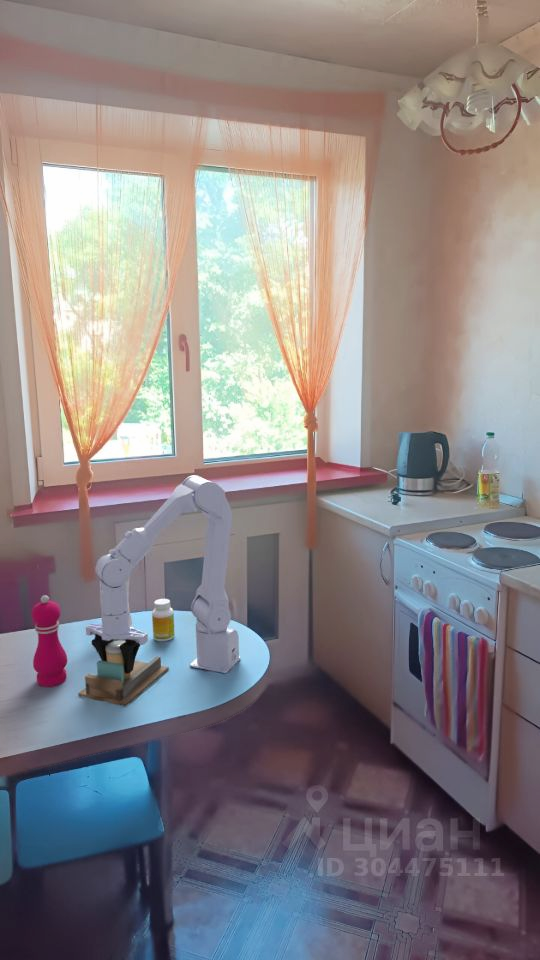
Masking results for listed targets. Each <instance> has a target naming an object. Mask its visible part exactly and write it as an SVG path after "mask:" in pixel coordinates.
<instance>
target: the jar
mask: <svg viewBox="0 0 540 960" xmlns="http://www.w3.org/2000/svg"><path fill="white" fill-rule="evenodd" d="M124 642H125V640H113V642H110V643H108V644H107V645H106V646H105V649H106V657H107V662H111V663H116V664H122V665H123V670H124V660H123V656H122V653H121V650H120V648H119V646H120V645H122V644H123V643H124ZM130 677H131V674H130V673H129V674H126V673H125V670H124V682H126V681H127V680H128V679H129V678H130Z"/></svg>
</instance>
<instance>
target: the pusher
mask: <svg viewBox="0 0 540 960" xmlns="http://www.w3.org/2000/svg"><path fill="white" fill-rule="evenodd" d="M96 669H97V674H98V676H100V677H105V678H110V679H115V680H120V681H123V683H124V670H123V665H122V664H116V663H111V662H106V661H102V660H101V659H100V660H98V661H96Z"/></svg>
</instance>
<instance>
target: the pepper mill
mask: <svg viewBox="0 0 540 960" xmlns="http://www.w3.org/2000/svg"><path fill="white" fill-rule="evenodd" d="M60 617H61V608H60V606H59V604H58V603H56V602H55V601H53V600H50V597H49V596H48V595H46V594H45V595H42V596H40V602H38V603H36V604H35V605H34V606H33V607H32V610H31V618H32V622H34V624H35V625H34V627H35V632H36V634H37V637H38V638H37V639H38V640H37V641H38V642H37V646H36V650H35V653H34V656H33V661H32V665H33V667H32V668H33V670H34V671H35V672H37V674H36V683H37V685H38V686H40V687H43V688H49V687H50V688H51V687H56V686H58V685H61V684H62V683H64V682H65V681H66V680H67V670H66V669H65V668H66V666H67V664H68V656H67V652H66V651H65V649H64V647H63V645H62V643H61V642H60V639H59V636H58V635H59V633H58V630H59V629H60V625H59V624H60V622H59V621H58V620H59V619H60Z"/></svg>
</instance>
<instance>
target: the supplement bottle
mask: <svg viewBox="0 0 540 960" xmlns="http://www.w3.org/2000/svg"><path fill="white" fill-rule="evenodd" d="M153 608H154V609H153V610H152V611H151V617H152V636H153V639H154V640H155V641H157V642H167V641H168V642H169V641H170V640H173V639H174V638H175V635H176V634H175V616H174V609H173V608H172V607H171V600H170V599H168V598H158V599H156V600H155V601H154V607H153Z"/></svg>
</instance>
